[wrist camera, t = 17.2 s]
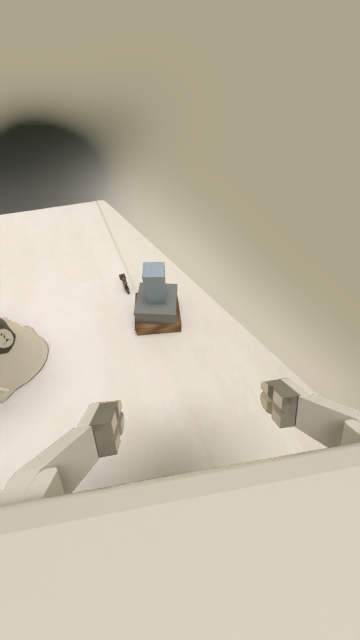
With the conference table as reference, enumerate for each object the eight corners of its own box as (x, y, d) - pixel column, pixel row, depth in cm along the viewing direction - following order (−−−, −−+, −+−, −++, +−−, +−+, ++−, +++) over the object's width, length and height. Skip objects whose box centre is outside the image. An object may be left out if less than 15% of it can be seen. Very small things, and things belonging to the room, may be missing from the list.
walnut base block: (137, 336, 47) (134, 328, 43) (138, 302, 53) (135, 292, 50) (180, 332, 48) (181, 324, 44) (176, 299, 54) (176, 290, 51)
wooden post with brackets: (126, 295, 53) (121, 282, 50) (123, 286, 59) (118, 274, 56) (132, 293, 53) (127, 280, 51) (128, 285, 59) (123, 272, 57)
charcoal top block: (137, 322, 44) (133, 313, 40) (142, 293, 50) (140, 282, 46) (175, 324, 44) (175, 314, 41) (176, 295, 50) (177, 284, 46)
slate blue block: (147, 304, 42) (142, 277, 34) (148, 290, 44) (143, 262, 37) (165, 303, 42) (164, 276, 35) (165, 290, 45) (164, 262, 37)
